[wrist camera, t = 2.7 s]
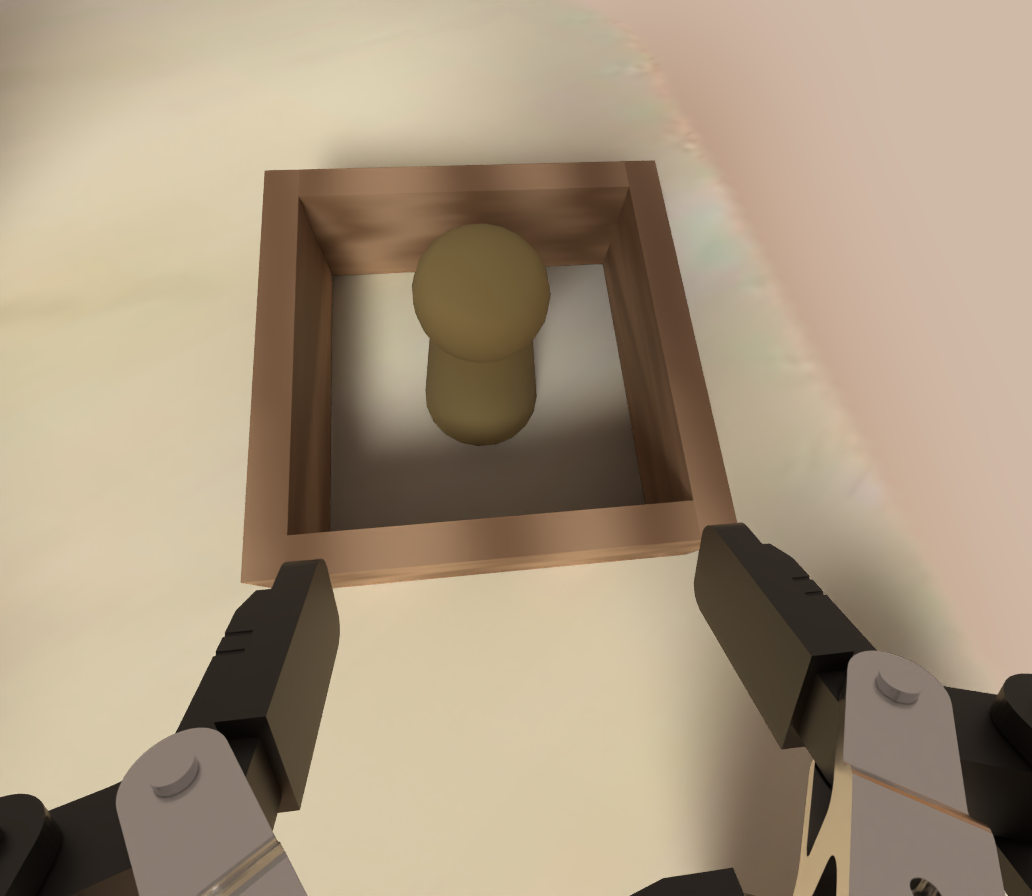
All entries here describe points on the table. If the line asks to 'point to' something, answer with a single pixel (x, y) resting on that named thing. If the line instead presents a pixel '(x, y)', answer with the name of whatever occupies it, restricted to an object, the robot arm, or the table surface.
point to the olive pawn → (480, 330)
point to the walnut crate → (397, 248)
